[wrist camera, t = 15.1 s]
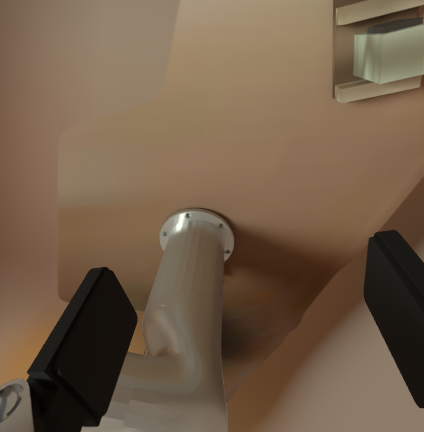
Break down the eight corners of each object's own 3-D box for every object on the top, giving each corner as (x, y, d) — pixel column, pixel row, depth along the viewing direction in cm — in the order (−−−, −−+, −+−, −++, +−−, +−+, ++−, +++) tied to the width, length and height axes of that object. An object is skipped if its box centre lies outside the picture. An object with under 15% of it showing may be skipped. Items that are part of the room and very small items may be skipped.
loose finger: (390, 66, 31) (427, 73, 26) (353, 75, 32) (380, 84, 26) (395, 18, 29) (436, 14, 23) (354, 29, 30) (384, 28, 24)
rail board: (403, 82, 33) (446, 94, 26) (332, 97, 34) (356, 112, 28) (429, -120, 24) (503, -178, 18) (334, -89, 26) (369, -133, 19)
